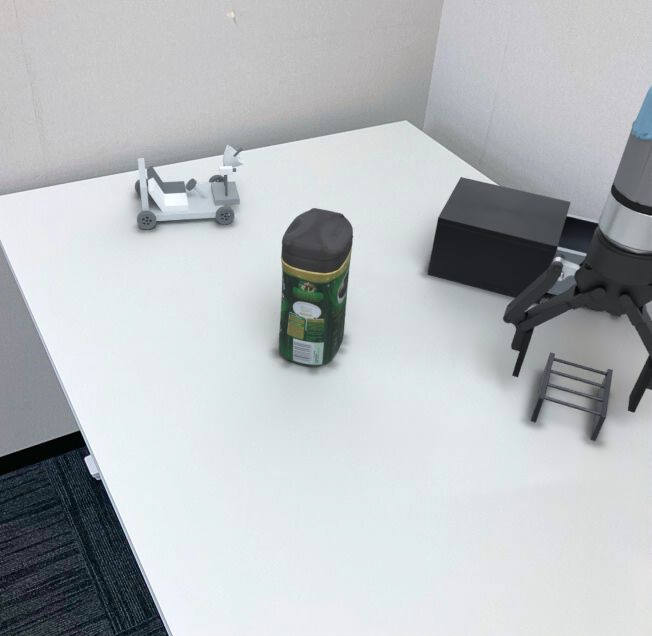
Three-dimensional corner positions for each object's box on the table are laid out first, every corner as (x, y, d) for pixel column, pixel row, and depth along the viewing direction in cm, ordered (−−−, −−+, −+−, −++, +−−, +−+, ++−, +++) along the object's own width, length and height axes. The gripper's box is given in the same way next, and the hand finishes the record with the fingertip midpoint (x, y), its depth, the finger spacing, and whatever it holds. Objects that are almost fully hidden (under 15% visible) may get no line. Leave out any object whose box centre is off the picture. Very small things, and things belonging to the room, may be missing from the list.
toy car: (240, 135, 123) (251, 167, 115) (241, 188, 130) (251, 223, 121) (129, 139, 120) (131, 173, 112) (135, 194, 127) (137, 230, 118)
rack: (602, 393, 94) (613, 369, 92) (595, 441, 88) (606, 417, 85) (542, 375, 96) (550, 352, 94) (530, 421, 90) (538, 397, 87)
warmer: (553, 257, 118) (570, 201, 112) (539, 304, 108) (557, 246, 102) (449, 231, 122) (460, 176, 116) (427, 274, 112) (438, 217, 106)
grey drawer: (660, 280, 113) (680, 234, 108) (656, 327, 104) (677, 280, 99) (524, 246, 118) (537, 202, 113) (509, 288, 109) (522, 242, 104)
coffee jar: (293, 317, 103) (299, 197, 91) (348, 330, 101) (362, 209, 89) (269, 361, 96) (272, 236, 84) (328, 375, 94) (340, 251, 82)
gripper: (764, 248, 76) (683, 399, 89) (518, 190, 82) (478, 339, 96) (769, 287, 70) (681, 441, 84) (505, 222, 77) (464, 374, 90)
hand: (573, 387), depth 90 cm, fingers open, 13 cm apart
